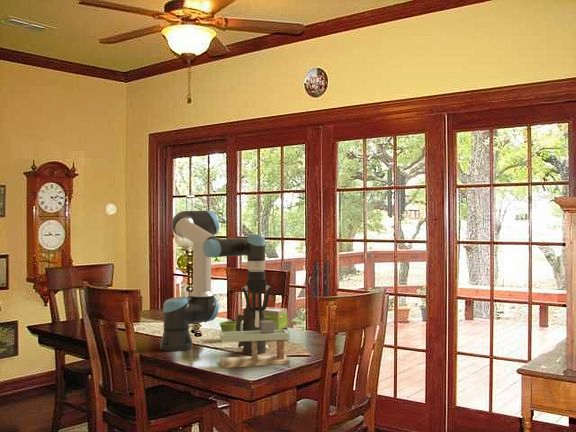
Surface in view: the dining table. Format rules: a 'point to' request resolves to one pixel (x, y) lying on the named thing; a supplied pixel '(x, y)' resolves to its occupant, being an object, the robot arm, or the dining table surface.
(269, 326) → the block
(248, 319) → the beer stein
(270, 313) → the tea box
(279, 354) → the beam stand
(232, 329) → the plant pot
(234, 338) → the beam
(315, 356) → the dining table surface
